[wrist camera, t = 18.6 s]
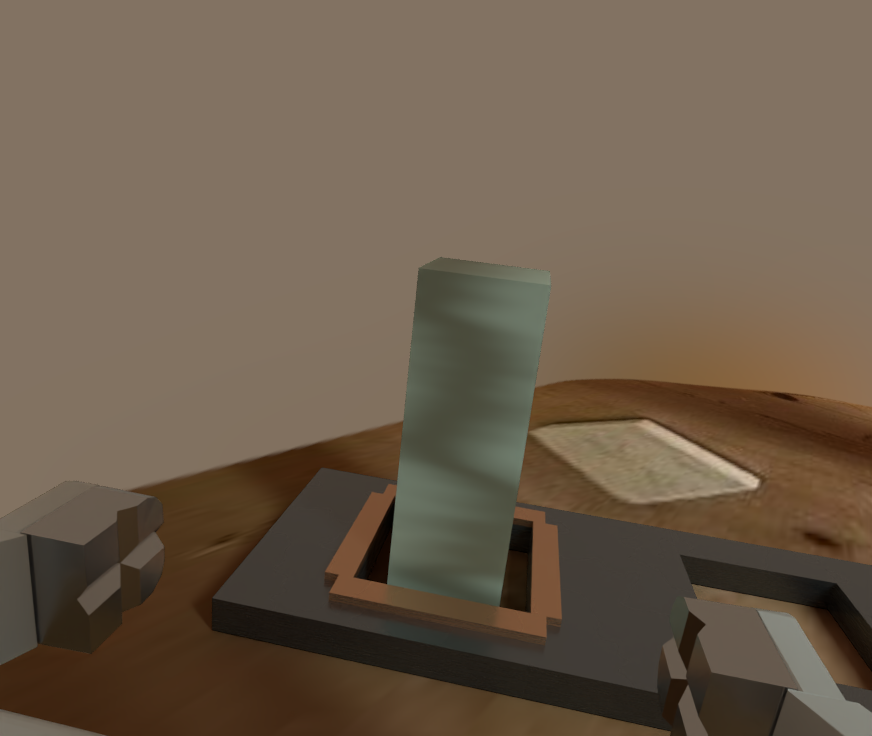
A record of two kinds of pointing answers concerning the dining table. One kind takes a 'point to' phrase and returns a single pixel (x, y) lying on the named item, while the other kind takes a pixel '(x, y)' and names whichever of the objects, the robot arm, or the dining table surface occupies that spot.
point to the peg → (465, 425)
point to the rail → (545, 599)
